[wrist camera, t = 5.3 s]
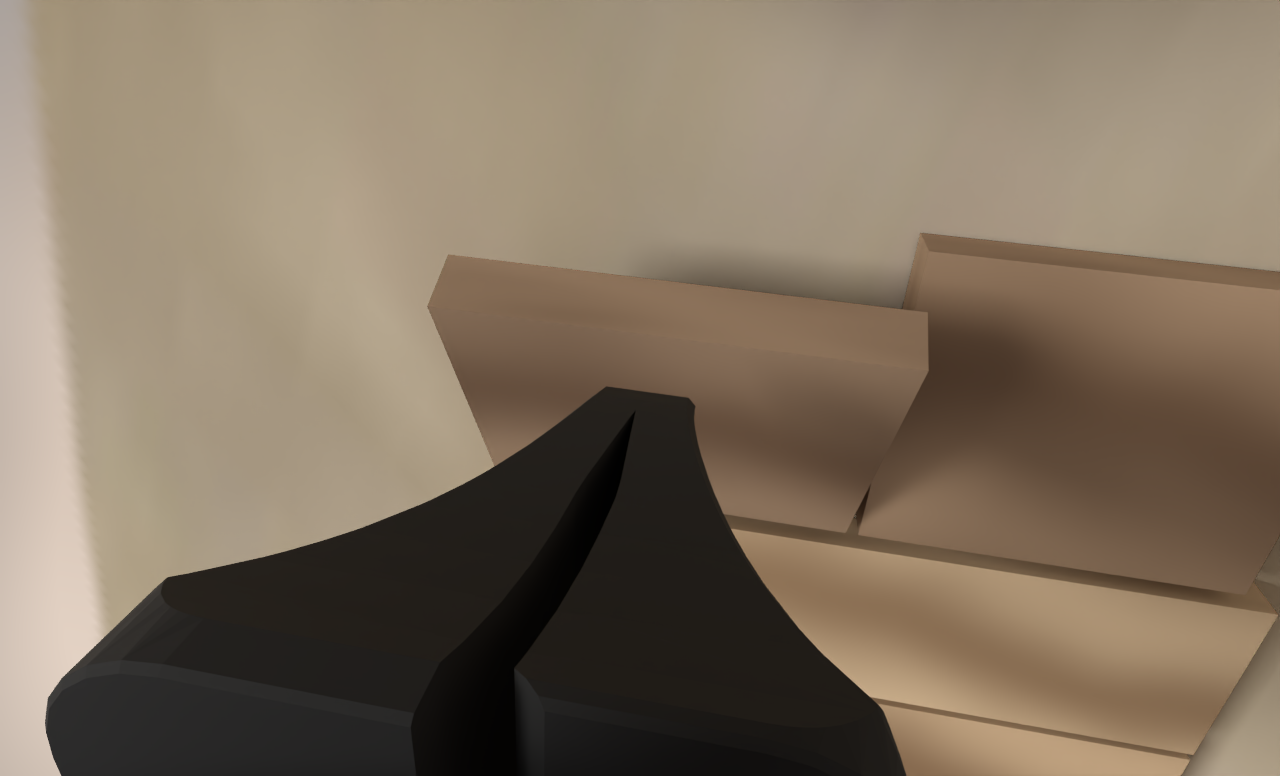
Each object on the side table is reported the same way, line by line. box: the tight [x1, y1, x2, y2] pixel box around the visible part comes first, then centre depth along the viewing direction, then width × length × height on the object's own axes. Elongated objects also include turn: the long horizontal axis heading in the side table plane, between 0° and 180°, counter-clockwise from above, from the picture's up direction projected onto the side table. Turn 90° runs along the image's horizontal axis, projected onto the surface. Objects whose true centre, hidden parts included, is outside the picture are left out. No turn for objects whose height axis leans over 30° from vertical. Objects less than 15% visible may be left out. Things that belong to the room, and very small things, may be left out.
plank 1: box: [427, 255, 929, 533], centre depth 16 cm, size 7×8×1 cm
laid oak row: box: [724, 514, 1278, 776], centre depth 22 cm, size 10×18×1 cm, turn 87°
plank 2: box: [856, 233, 1280, 595], centre depth 17 cm, size 7×8×1 cm
